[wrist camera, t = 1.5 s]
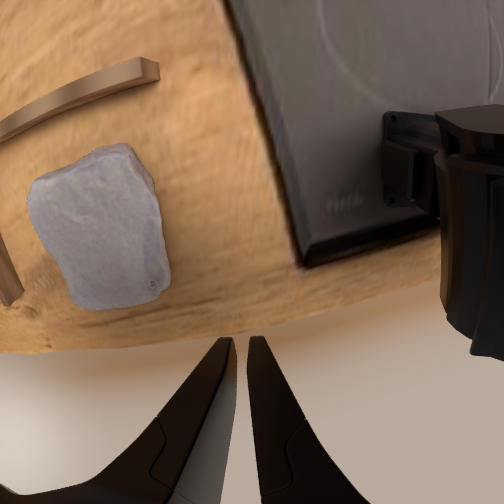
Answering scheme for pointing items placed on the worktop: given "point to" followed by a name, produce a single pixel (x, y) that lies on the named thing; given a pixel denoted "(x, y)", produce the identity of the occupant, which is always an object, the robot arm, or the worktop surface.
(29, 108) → the corner walls
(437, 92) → the worktop surface
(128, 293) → the stone block
